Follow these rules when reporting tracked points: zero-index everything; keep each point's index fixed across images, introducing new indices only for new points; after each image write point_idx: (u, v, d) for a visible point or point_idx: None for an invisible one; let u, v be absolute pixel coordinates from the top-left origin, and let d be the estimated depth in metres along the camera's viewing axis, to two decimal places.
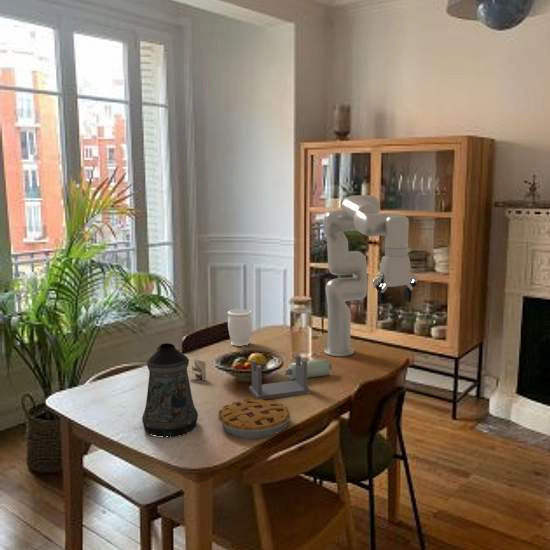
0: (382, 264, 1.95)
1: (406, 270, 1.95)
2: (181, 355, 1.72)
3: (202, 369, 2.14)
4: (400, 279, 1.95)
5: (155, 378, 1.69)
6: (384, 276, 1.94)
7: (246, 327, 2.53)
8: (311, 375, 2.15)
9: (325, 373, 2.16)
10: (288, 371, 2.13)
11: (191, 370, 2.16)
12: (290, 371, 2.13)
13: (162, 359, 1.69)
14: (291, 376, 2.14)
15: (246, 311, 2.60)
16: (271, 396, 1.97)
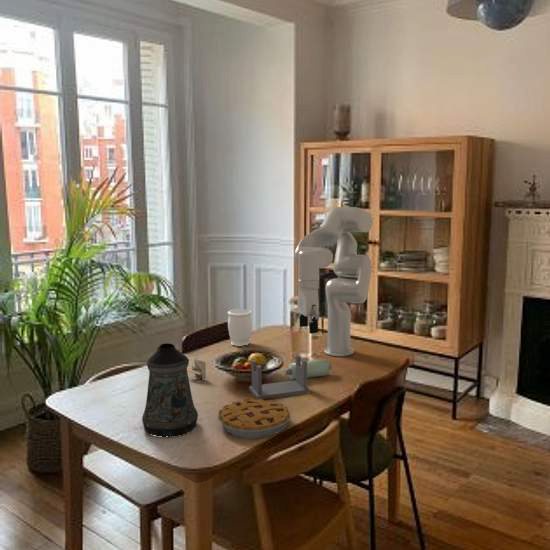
0: (312, 297, 2.07)
1: None
2: (181, 355, 1.72)
3: (202, 369, 2.14)
4: None
5: (155, 378, 1.69)
6: (316, 307, 2.08)
7: (246, 327, 2.53)
8: (311, 375, 2.15)
9: (325, 373, 2.16)
10: (288, 371, 2.13)
11: (191, 370, 2.16)
12: (290, 371, 2.13)
13: (162, 359, 1.69)
14: (291, 376, 2.14)
15: (246, 311, 2.60)
16: (271, 396, 1.97)
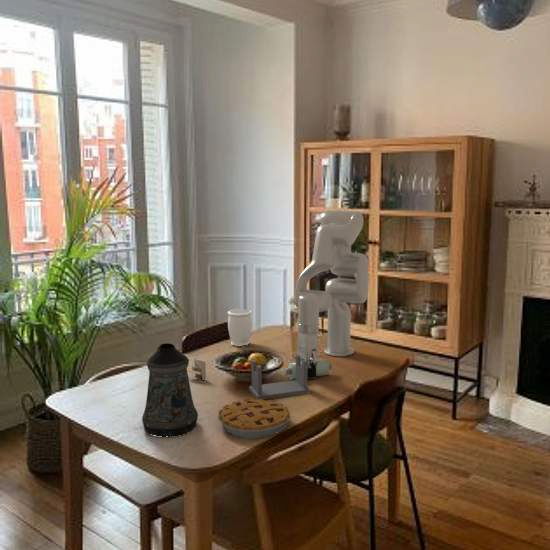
0: (312, 341, 2.10)
1: None
2: (181, 355, 1.72)
3: (202, 369, 2.14)
4: None
5: (155, 378, 1.69)
6: (316, 351, 2.11)
7: (246, 327, 2.53)
8: None
9: (325, 373, 2.16)
10: (288, 371, 2.13)
11: (191, 370, 2.16)
12: (290, 371, 2.13)
13: (162, 359, 1.69)
14: (291, 376, 2.14)
15: (246, 311, 2.60)
16: (271, 396, 1.97)
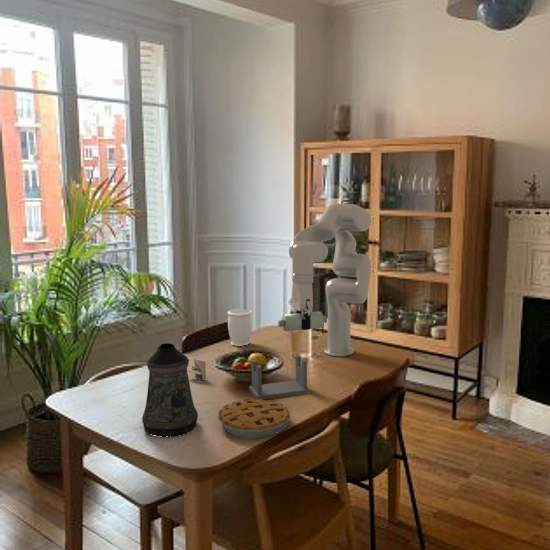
0: (306, 291, 2.04)
1: None
2: (181, 355, 1.72)
3: (202, 369, 2.14)
4: None
5: (155, 378, 1.69)
6: (311, 301, 2.05)
7: (246, 327, 2.53)
8: None
9: (320, 325, 2.10)
10: (282, 322, 2.07)
11: (191, 370, 2.16)
12: (284, 322, 2.07)
13: (162, 359, 1.69)
14: (285, 328, 2.08)
15: (246, 311, 2.60)
16: (271, 396, 1.97)
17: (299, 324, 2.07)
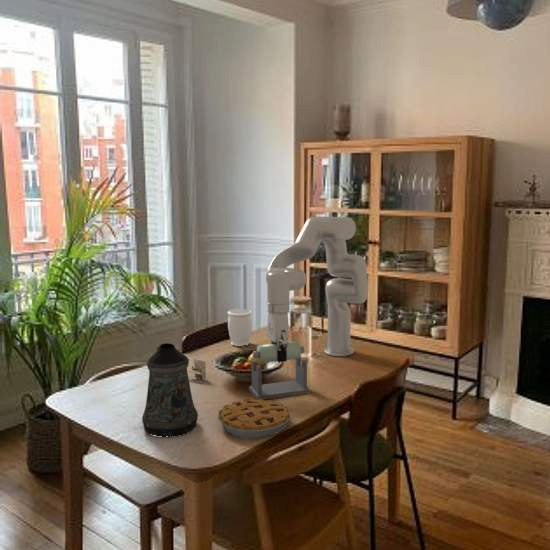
0: (281, 322, 1.94)
1: None
2: (181, 355, 1.72)
3: (202, 369, 2.14)
4: None
5: (155, 378, 1.69)
6: (286, 332, 1.95)
7: (246, 327, 2.53)
8: None
9: (296, 356, 2.00)
10: (256, 354, 1.97)
11: (191, 370, 2.16)
12: (258, 354, 1.97)
13: (162, 359, 1.69)
14: (259, 359, 1.98)
15: (246, 311, 2.60)
16: (271, 396, 1.97)
17: (274, 356, 1.97)
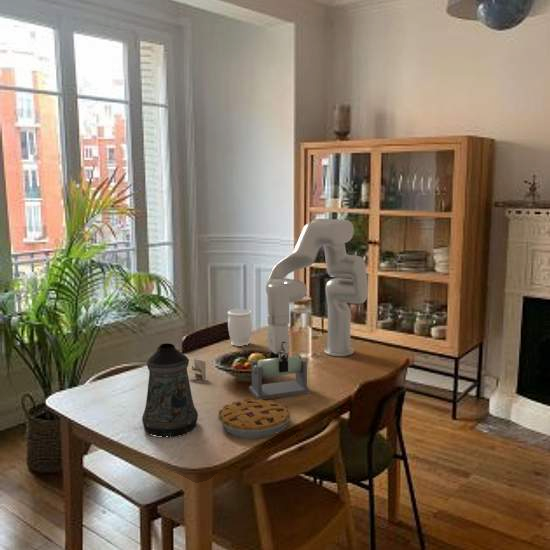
0: (281, 333, 1.95)
1: None
2: (181, 355, 1.72)
3: (202, 369, 2.14)
4: None
5: (155, 378, 1.69)
6: (286, 344, 1.96)
7: (246, 327, 2.53)
8: (282, 373, 2.00)
9: (297, 371, 2.01)
10: None
11: (191, 370, 2.16)
12: None
13: (162, 359, 1.69)
14: None
15: (246, 311, 2.60)
16: (271, 396, 1.97)
17: (274, 370, 1.98)
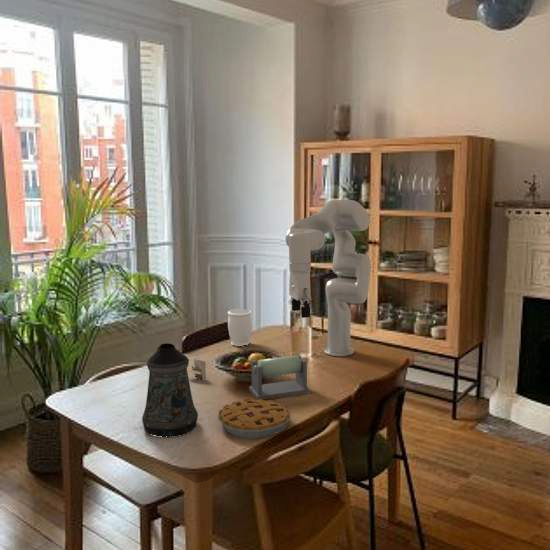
0: (303, 280, 2.02)
1: None
2: (181, 355, 1.72)
3: (202, 369, 2.14)
4: None
5: (155, 378, 1.69)
6: (308, 290, 2.03)
7: (246, 327, 2.53)
8: (282, 373, 2.00)
9: (297, 371, 2.01)
10: None
11: (191, 370, 2.16)
12: None
13: (162, 359, 1.69)
14: None
15: (246, 311, 2.60)
16: (271, 396, 1.97)
17: (274, 370, 1.98)
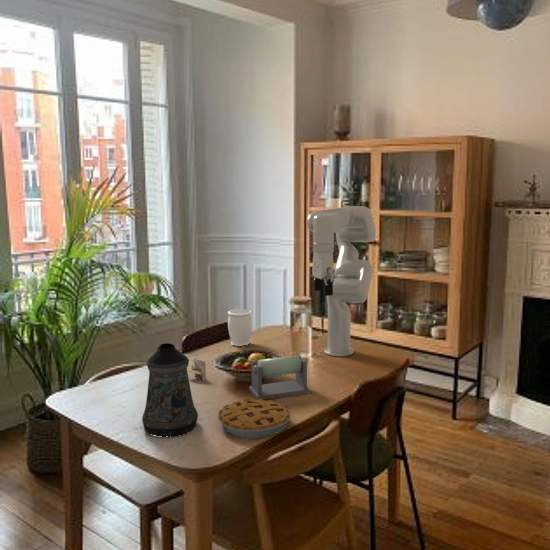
0: (327, 259, 2.12)
1: None
2: (181, 355, 1.72)
3: (202, 369, 2.14)
4: None
5: (155, 378, 1.69)
6: (331, 269, 2.13)
7: (246, 327, 2.53)
8: (282, 373, 2.00)
9: (297, 371, 2.01)
10: None
11: (191, 370, 2.16)
12: None
13: (162, 359, 1.69)
14: None
15: (246, 311, 2.60)
16: (271, 396, 1.97)
17: (274, 370, 1.98)
